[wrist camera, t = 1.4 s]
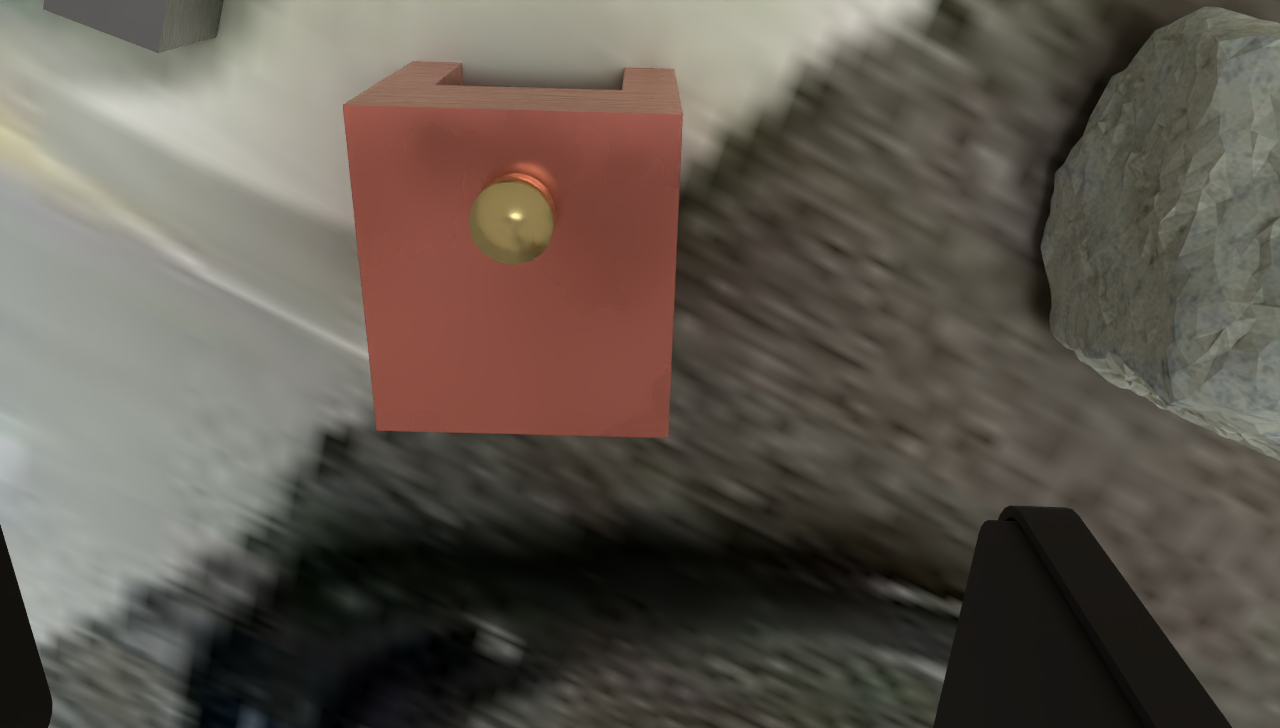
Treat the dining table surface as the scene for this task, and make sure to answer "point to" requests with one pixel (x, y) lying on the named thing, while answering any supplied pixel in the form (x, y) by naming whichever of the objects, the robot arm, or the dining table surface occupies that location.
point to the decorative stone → (1179, 228)
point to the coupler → (145, 19)
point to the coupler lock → (517, 252)
